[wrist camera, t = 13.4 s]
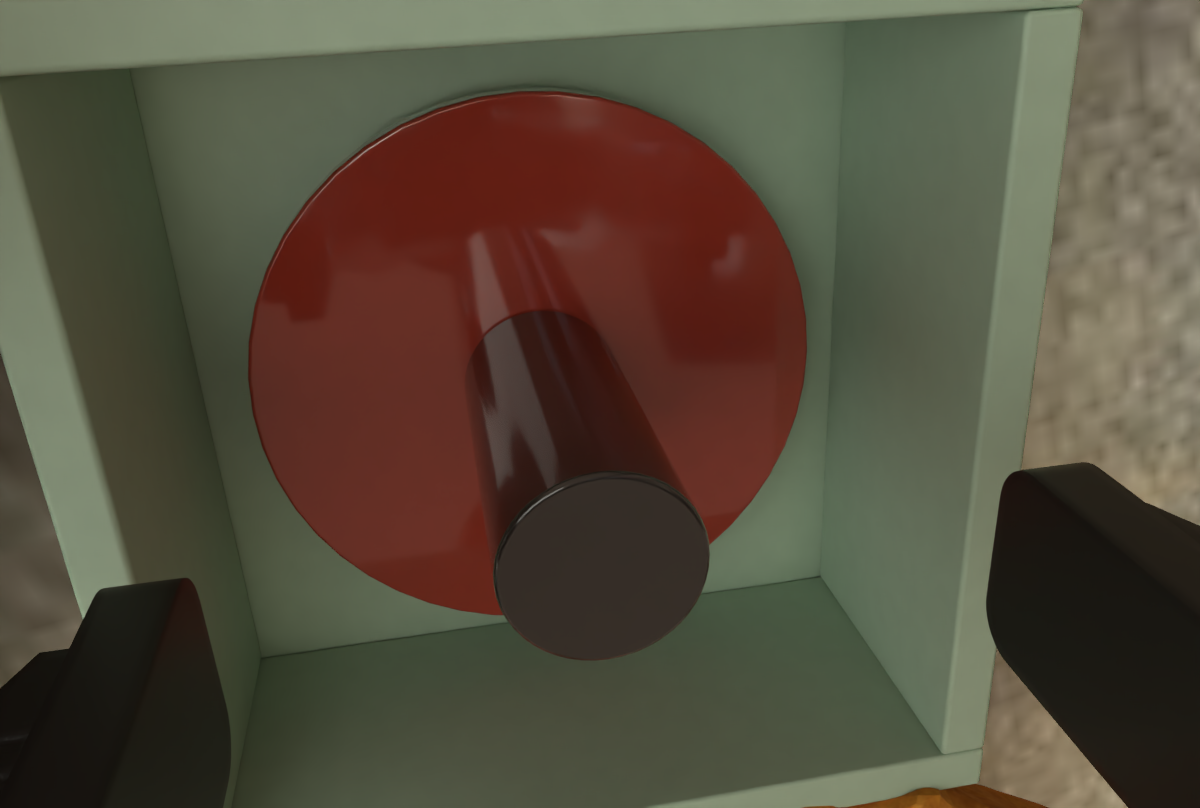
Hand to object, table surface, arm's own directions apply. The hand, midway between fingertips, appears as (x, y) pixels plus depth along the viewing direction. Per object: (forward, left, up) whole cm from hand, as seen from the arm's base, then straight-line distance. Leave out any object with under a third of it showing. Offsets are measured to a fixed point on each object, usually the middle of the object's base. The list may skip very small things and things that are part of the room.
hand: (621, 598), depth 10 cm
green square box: (0, 0, -8) cm, 8 cm away
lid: (0, 0, -7) cm, 7 cm away
